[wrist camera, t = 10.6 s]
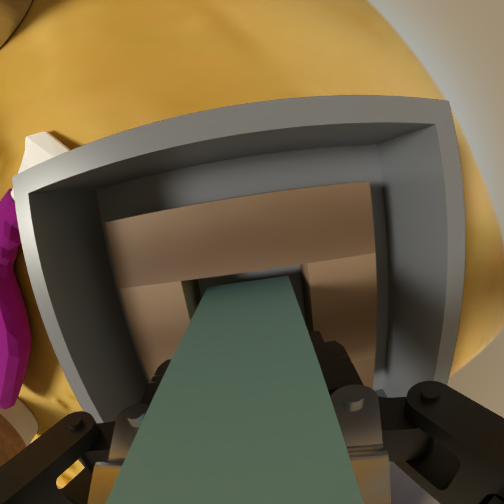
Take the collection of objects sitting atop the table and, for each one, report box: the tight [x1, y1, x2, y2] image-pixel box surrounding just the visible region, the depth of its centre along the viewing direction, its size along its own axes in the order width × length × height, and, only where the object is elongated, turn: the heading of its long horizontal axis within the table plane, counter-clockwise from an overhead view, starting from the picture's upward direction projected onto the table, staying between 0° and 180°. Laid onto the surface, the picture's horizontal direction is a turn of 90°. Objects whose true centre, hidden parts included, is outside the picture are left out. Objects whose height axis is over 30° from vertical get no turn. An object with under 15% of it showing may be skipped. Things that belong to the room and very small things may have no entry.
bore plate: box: [105, 181, 377, 389], centre depth 15 cm, size 12×12×3 cm
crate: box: [12, 95, 465, 463], centre depth 14 cm, size 18×18×7 cm
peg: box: [106, 276, 363, 504], centre depth 9 cm, size 4×4×12 cm
